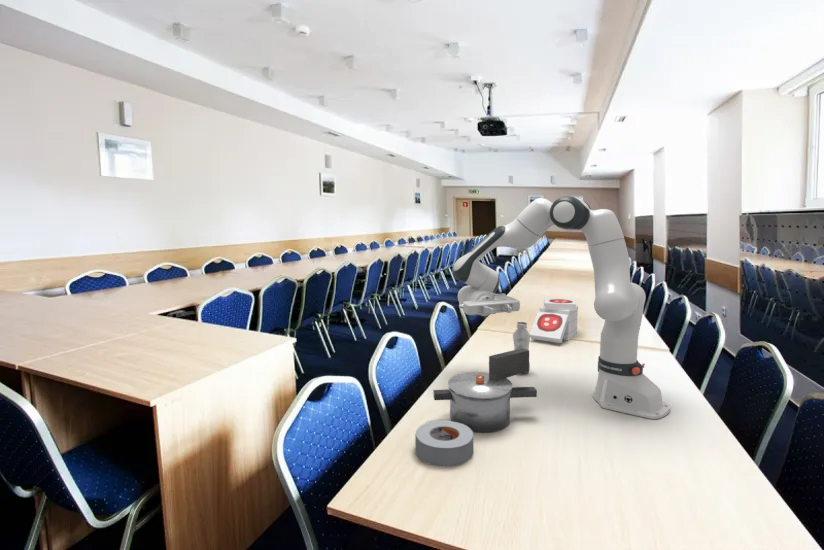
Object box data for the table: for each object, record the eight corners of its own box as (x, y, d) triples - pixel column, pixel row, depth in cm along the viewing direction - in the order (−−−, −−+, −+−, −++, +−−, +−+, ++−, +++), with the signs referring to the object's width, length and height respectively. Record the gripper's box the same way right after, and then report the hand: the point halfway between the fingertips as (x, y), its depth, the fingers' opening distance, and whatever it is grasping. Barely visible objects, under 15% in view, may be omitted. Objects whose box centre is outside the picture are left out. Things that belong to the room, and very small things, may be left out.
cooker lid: (476, 405, 118) (476, 376, 117) (436, 383, 134) (435, 358, 133) (548, 382, 134) (549, 356, 133) (504, 365, 150) (504, 342, 149)
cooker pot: (437, 434, 123) (436, 401, 122) (431, 407, 141) (431, 377, 140) (544, 430, 125) (545, 397, 123) (525, 404, 142) (526, 374, 141)
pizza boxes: (525, 341, 214) (526, 305, 212) (546, 328, 238) (547, 296, 236) (564, 348, 203) (566, 310, 201) (582, 333, 227) (584, 299, 224)
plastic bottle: (526, 376, 167) (527, 325, 164) (509, 373, 171) (510, 323, 169) (532, 371, 172) (533, 322, 170) (516, 368, 176) (517, 320, 174)
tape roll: (438, 431, 126) (437, 414, 125) (484, 448, 116) (484, 430, 116) (403, 453, 114) (403, 435, 113) (452, 474, 104) (452, 454, 104)
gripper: (456, 296, 154) (473, 303, 141) (507, 293, 160) (528, 299, 147) (456, 314, 155) (473, 322, 142) (507, 309, 161) (528, 317, 148)
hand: (502, 310), depth 145 cm, fingers open, 4 cm apart
